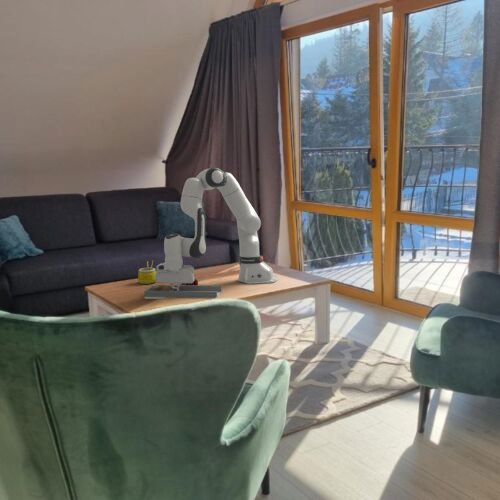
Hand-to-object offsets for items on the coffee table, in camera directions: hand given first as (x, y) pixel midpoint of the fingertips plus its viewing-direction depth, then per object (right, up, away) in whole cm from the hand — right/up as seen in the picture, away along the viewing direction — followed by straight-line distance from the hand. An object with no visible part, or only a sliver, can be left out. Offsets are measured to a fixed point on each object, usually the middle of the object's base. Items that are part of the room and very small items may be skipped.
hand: (175, 291), depth 298 cm
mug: (-19, +3, +32) cm, 38 cm away
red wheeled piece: (+5, +1, +20) cm, 21 cm away
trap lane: (+4, -2, 0) cm, 5 cm away
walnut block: (-7, -1, +1) cm, 8 cm away
